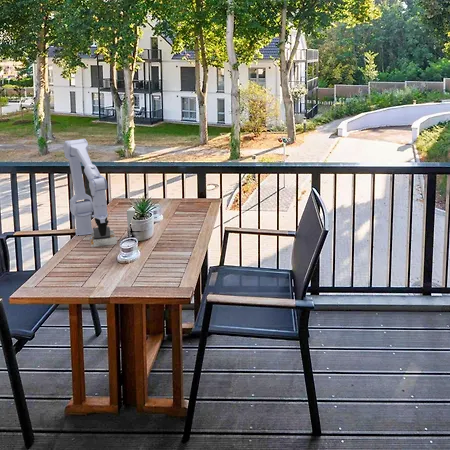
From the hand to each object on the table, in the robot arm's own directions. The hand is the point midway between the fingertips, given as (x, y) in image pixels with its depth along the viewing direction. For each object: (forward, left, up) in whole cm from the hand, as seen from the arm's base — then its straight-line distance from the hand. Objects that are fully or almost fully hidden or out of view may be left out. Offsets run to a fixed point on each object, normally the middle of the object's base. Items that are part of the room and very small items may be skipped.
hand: (102, 234), depth 285 cm
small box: (-16, +17, -4) cm, 24 cm away
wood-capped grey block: (0, 0, -2) cm, 2 cm away
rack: (-3, 0, -4) cm, 5 cm away
